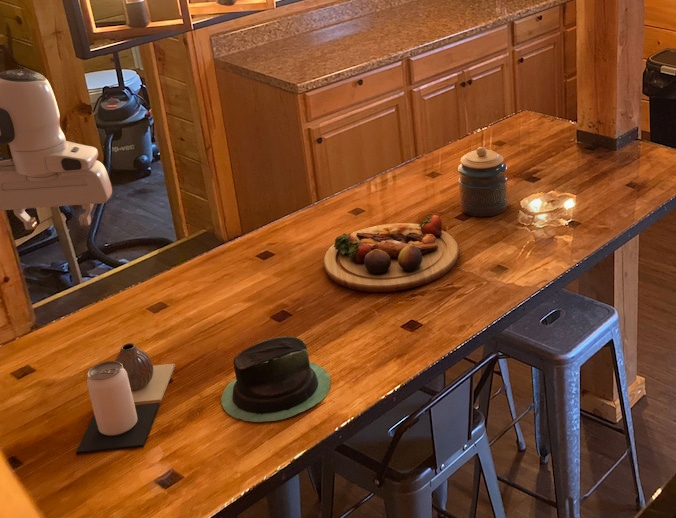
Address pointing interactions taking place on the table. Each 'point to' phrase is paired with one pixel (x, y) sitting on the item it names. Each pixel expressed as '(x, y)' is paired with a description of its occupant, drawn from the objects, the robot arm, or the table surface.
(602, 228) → the table surface
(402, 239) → the wooden plate
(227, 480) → the table surface
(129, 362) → the vase
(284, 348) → the fedora hat
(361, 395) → the table surface
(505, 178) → the canister
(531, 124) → the table surface
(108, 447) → the sorting mat
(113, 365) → the can
